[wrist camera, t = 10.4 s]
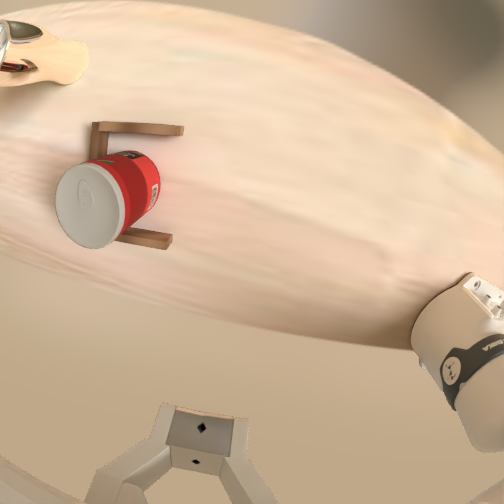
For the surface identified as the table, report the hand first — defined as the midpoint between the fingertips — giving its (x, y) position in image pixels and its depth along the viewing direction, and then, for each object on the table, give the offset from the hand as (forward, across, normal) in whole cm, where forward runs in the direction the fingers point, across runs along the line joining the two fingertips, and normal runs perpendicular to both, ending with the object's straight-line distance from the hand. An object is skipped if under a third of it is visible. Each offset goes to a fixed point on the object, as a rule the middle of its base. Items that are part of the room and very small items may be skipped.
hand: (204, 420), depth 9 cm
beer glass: (+27, -26, +16) cm, 41 cm away
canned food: (+27, -14, +1) cm, 31 cm away
